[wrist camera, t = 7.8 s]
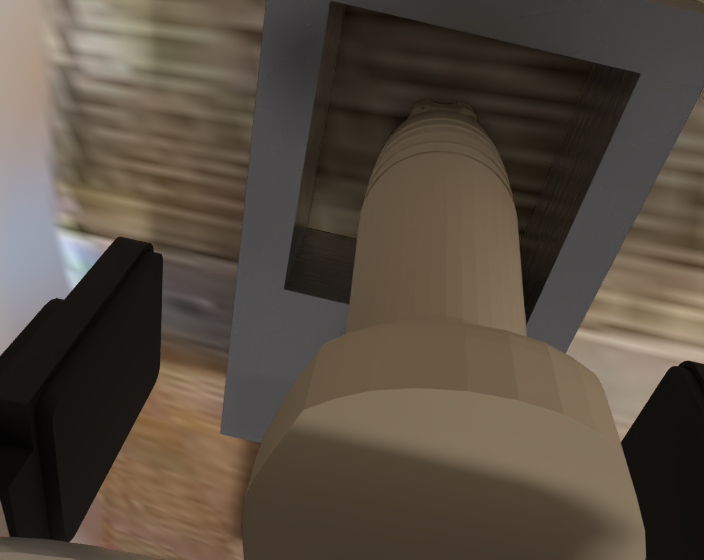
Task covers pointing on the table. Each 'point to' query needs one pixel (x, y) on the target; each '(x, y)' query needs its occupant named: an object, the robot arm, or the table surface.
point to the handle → (441, 390)
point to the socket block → (550, 210)
